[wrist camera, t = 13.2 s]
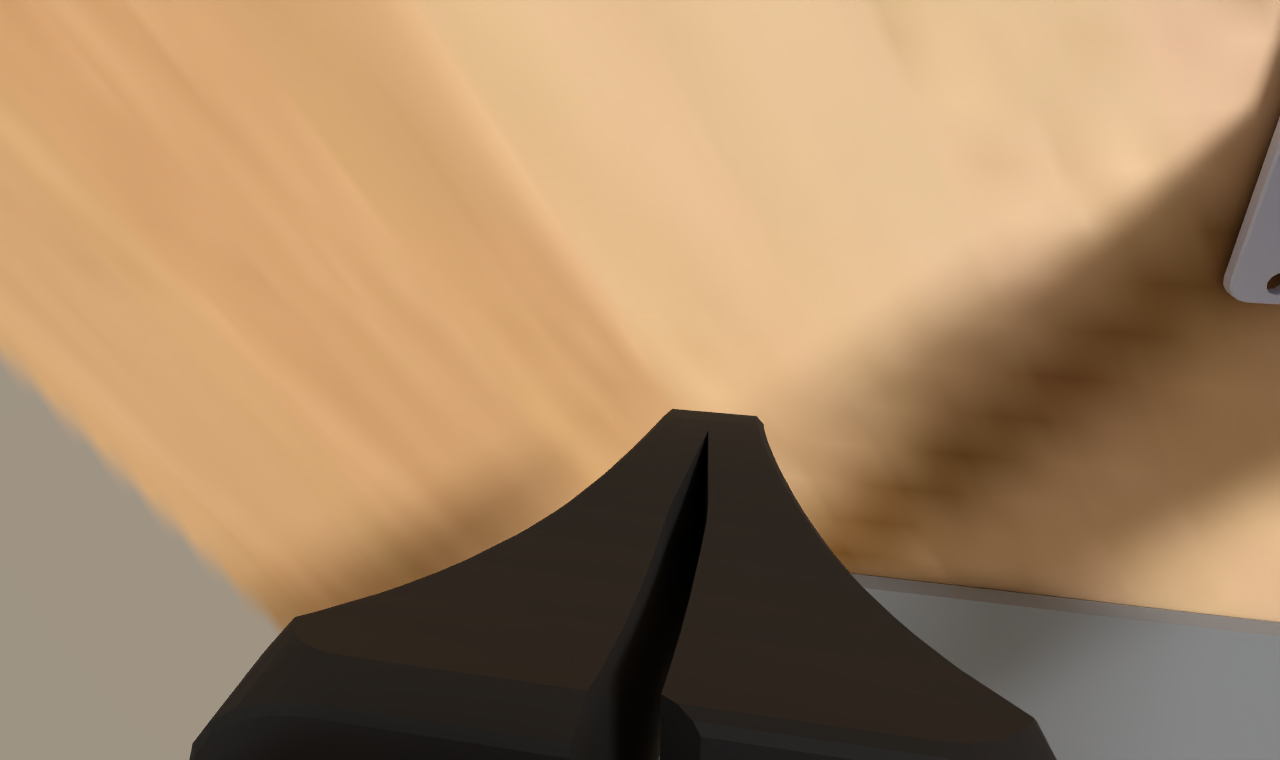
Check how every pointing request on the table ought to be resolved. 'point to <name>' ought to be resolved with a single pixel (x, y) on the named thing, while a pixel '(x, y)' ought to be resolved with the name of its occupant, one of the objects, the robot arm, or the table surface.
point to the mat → (1107, 669)
